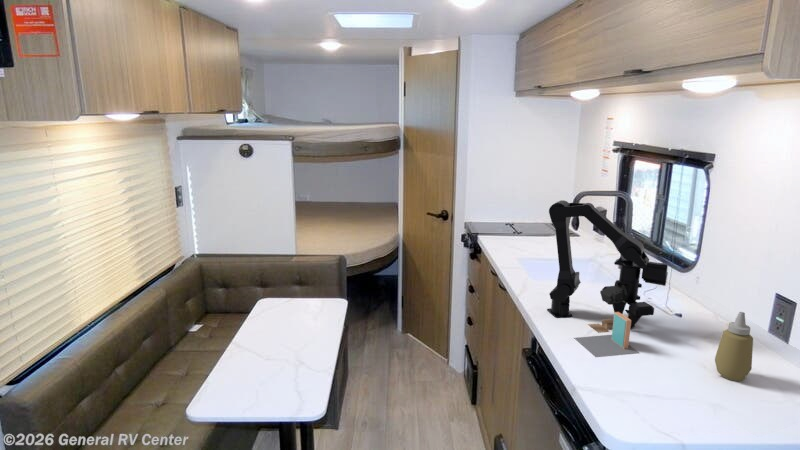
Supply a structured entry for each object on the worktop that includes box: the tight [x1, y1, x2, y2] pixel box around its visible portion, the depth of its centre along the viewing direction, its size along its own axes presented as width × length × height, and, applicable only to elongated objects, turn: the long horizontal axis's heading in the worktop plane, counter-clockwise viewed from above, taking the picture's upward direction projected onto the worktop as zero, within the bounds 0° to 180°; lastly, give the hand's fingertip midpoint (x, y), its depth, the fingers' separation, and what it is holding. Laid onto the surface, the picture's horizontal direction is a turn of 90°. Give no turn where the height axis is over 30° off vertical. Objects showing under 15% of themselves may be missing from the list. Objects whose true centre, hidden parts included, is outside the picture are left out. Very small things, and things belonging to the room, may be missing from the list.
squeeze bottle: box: [714, 311, 754, 382], centre depth 122 cm, size 8×8×18 cm
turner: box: [587, 316, 636, 334], centre depth 152 cm, size 6×14×3 cm, turn 100°
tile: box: [611, 311, 631, 349], centre depth 139 cm, size 6×2×9 cm, turn 10°
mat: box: [573, 334, 640, 358], centre depth 140 cm, size 12×14×1 cm
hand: (623, 324), depth 152 cm, fingers open, 6 cm apart
